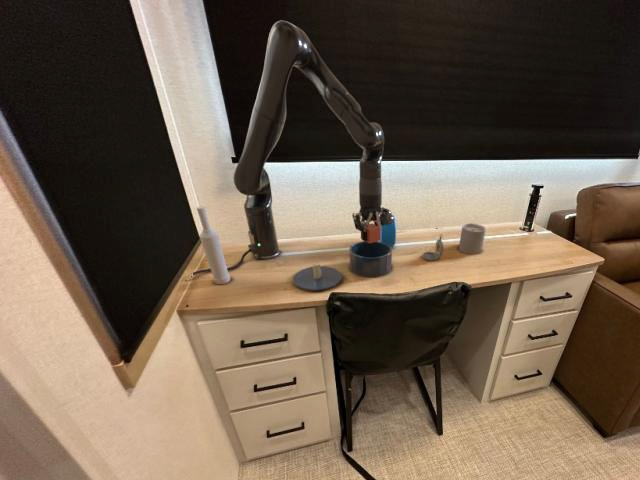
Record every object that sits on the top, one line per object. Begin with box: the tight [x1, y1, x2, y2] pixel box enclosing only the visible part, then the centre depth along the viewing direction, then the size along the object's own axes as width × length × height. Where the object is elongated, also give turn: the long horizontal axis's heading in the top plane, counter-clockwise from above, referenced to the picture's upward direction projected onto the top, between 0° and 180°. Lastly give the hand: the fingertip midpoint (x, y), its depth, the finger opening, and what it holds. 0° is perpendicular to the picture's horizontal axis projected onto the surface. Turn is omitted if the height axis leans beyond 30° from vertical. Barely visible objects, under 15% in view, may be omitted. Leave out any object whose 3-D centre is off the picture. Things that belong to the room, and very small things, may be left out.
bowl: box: [348, 240, 393, 278], centre depth 118 cm, size 16×16×8 cm
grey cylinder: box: [458, 223, 487, 255], centre depth 138 cm, size 13×10×10 cm
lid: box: [292, 262, 343, 292], centre depth 109 cm, size 17×17×6 cm
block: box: [366, 222, 381, 243], centre depth 113 cm, size 5×5×5 cm
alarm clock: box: [379, 209, 397, 249], centre depth 134 cm, size 13×6×15 cm, turn 9°
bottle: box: [196, 206, 231, 285], centre depth 100 cm, size 5×5×25 cm
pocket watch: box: [422, 233, 444, 261], centre depth 127 cm, size 8×8×10 cm
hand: (370, 238), depth 114 cm, fingers closed on block, 5 cm apart
